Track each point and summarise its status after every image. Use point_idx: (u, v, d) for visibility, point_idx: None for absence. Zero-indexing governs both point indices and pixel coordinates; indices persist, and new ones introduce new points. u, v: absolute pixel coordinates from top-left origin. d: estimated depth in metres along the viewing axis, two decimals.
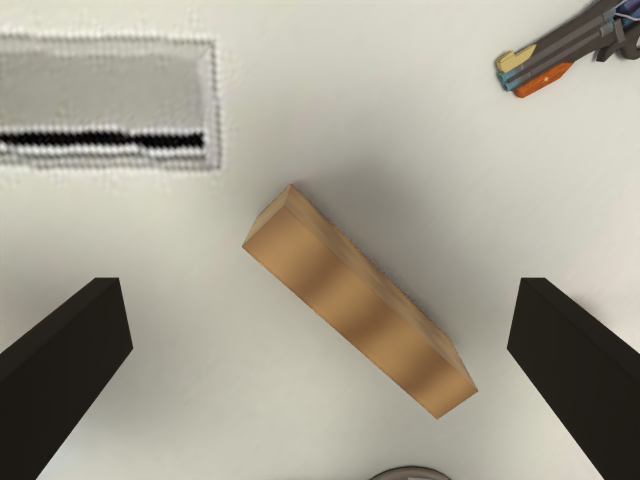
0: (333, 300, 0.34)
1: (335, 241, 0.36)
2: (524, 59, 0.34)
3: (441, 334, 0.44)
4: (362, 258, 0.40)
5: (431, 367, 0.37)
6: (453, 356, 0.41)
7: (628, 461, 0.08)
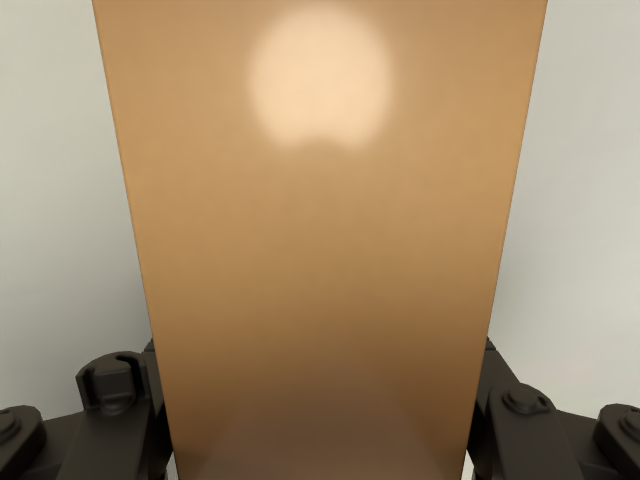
0: None
1: None
2: None
3: None
4: None
5: (382, 420, 0.06)
6: None
7: None
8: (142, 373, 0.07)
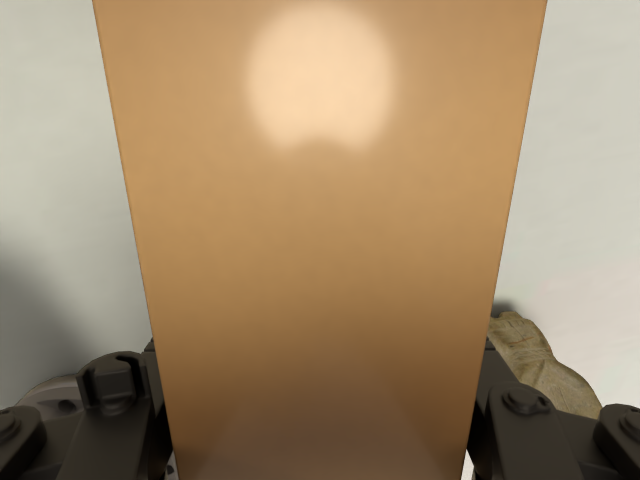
0: None
1: None
2: None
3: None
4: None
5: (382, 419, 0.06)
6: None
7: None
8: (142, 373, 0.07)
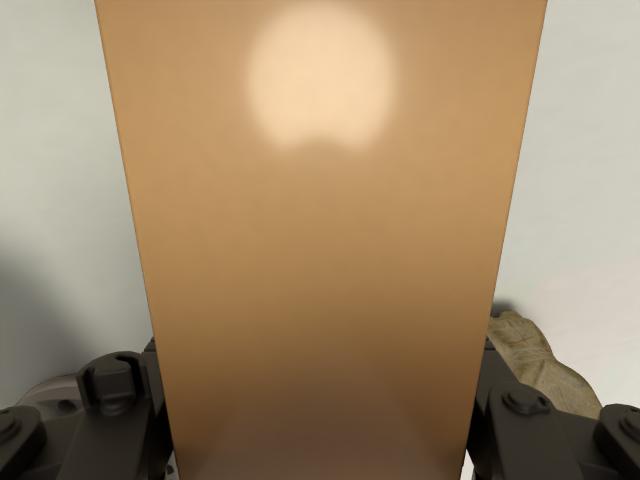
0: None
1: None
2: None
3: None
4: None
5: (382, 418, 0.07)
6: None
7: None
8: (142, 373, 0.07)
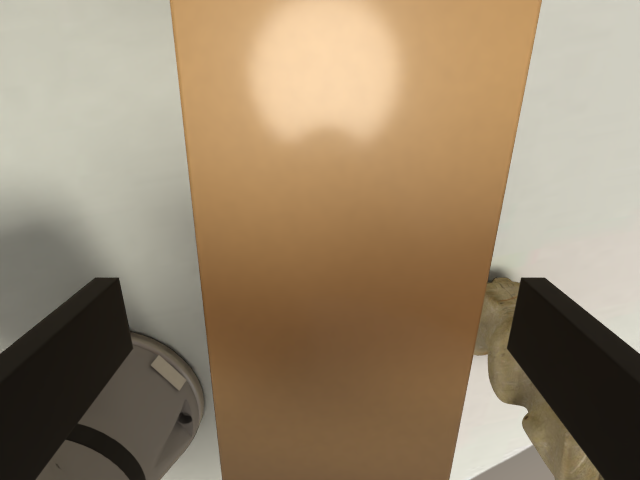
0: None
1: None
2: None
3: None
4: None
5: (399, 312, 0.07)
6: None
7: (628, 461, 0.08)
8: None
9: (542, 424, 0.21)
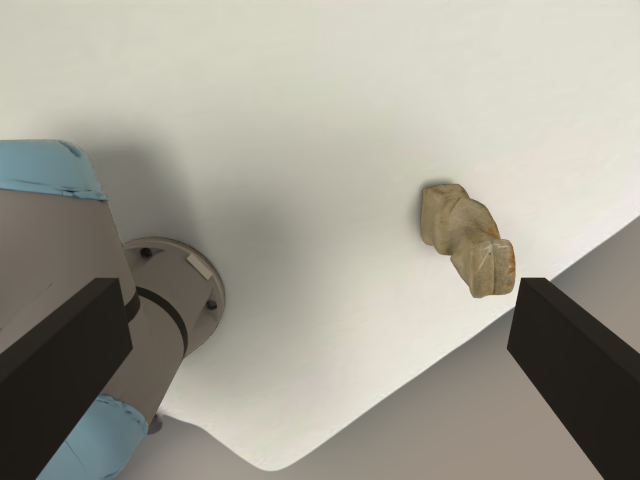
0: None
1: None
2: None
3: None
4: None
5: None
6: None
7: (628, 461, 0.08)
8: None
9: (461, 252, 0.32)
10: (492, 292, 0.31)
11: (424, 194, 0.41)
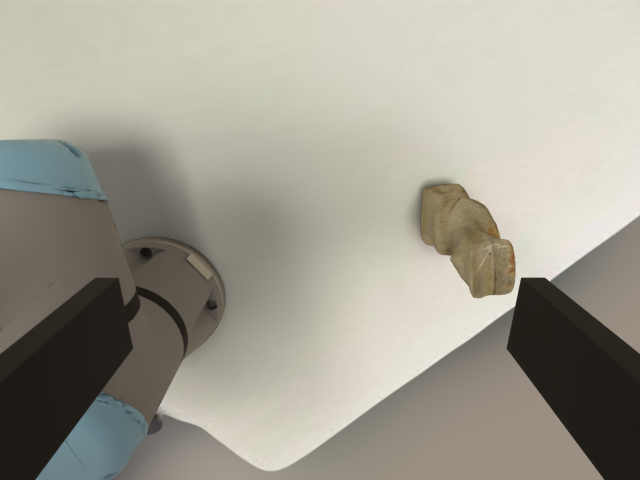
0: None
1: None
2: None
3: None
4: None
5: None
6: None
7: (628, 461, 0.08)
8: None
9: (461, 252, 0.32)
10: (492, 292, 0.31)
11: (424, 194, 0.41)
